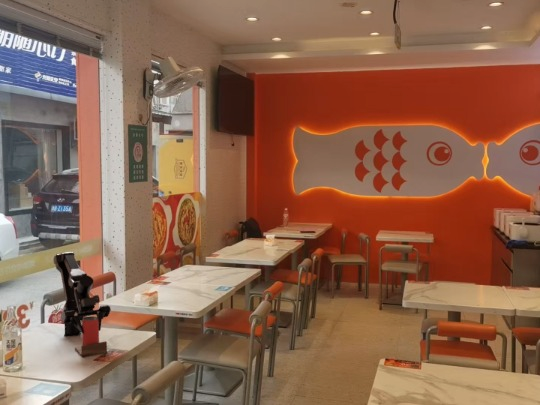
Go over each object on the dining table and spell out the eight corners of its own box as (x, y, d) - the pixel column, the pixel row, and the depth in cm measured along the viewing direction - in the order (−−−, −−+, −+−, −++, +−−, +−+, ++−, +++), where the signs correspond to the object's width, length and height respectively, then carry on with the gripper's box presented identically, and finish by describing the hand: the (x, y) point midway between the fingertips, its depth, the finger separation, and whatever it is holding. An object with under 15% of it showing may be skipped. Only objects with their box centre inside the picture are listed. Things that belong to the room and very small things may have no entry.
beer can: (97, 342, 234) (96, 315, 233) (100, 347, 228) (100, 319, 227) (81, 345, 231) (80, 317, 230) (84, 350, 225) (83, 321, 224)
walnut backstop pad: (74, 349, 231) (74, 339, 231) (98, 345, 237) (98, 335, 237) (82, 357, 222) (82, 346, 222) (106, 352, 228) (106, 342, 228)
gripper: (63, 292, 225) (71, 325, 217) (109, 286, 236) (118, 318, 228) (59, 306, 232) (66, 339, 224) (103, 300, 243) (112, 331, 235)
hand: (91, 331), depth 228 cm, fingers closed on beer can, 6 cm apart
